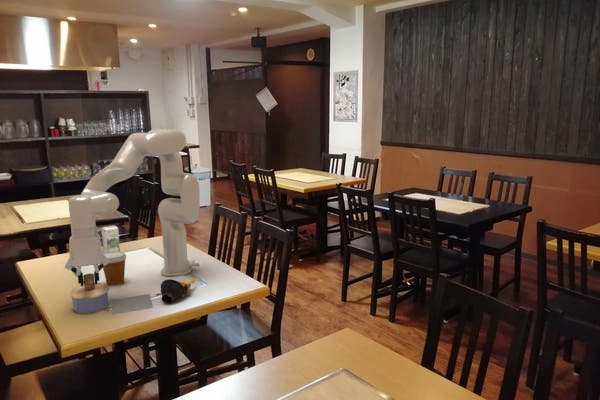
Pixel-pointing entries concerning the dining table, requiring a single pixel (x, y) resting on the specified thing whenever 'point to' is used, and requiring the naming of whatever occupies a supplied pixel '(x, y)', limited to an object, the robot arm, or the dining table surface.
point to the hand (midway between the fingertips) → (89, 283)
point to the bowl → (90, 304)
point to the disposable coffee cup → (115, 267)
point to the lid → (89, 288)
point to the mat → (131, 303)
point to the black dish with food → (175, 289)
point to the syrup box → (110, 239)
